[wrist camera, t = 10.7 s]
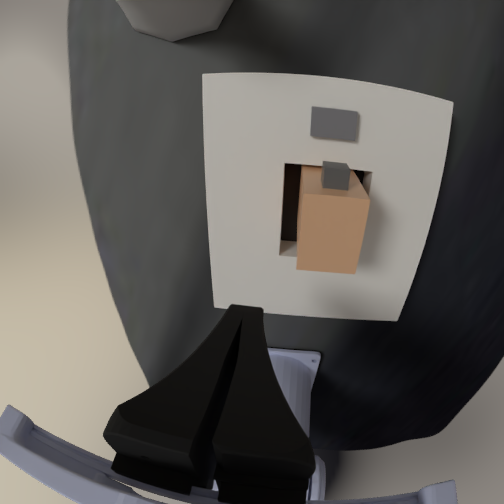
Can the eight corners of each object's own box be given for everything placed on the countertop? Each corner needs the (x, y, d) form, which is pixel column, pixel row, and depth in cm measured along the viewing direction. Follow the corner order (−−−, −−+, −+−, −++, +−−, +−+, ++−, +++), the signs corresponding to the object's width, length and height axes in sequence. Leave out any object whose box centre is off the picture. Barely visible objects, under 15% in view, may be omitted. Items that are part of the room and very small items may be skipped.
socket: (391, 303, 23) (398, 324, 21) (220, 290, 24) (213, 310, 22) (439, 99, 14) (456, 102, 12) (212, 74, 16) (200, 73, 14)
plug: (341, 221, 20) (355, 274, 15) (297, 217, 20) (296, 269, 15) (351, 148, 17) (374, 178, 12) (302, 143, 17) (305, 171, 12)
